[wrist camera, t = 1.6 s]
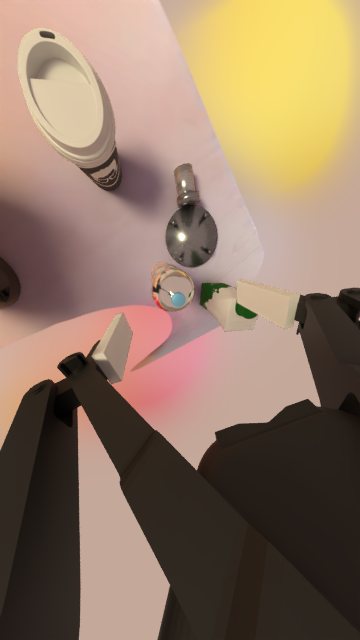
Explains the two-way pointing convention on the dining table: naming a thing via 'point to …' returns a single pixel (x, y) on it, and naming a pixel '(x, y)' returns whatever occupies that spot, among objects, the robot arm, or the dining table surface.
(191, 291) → the water bottle
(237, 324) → the milk carton
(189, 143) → the dining table surface
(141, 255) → the dining table surface
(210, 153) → the dining table surface
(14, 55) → the dining table surface
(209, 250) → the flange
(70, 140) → the coffee cup
